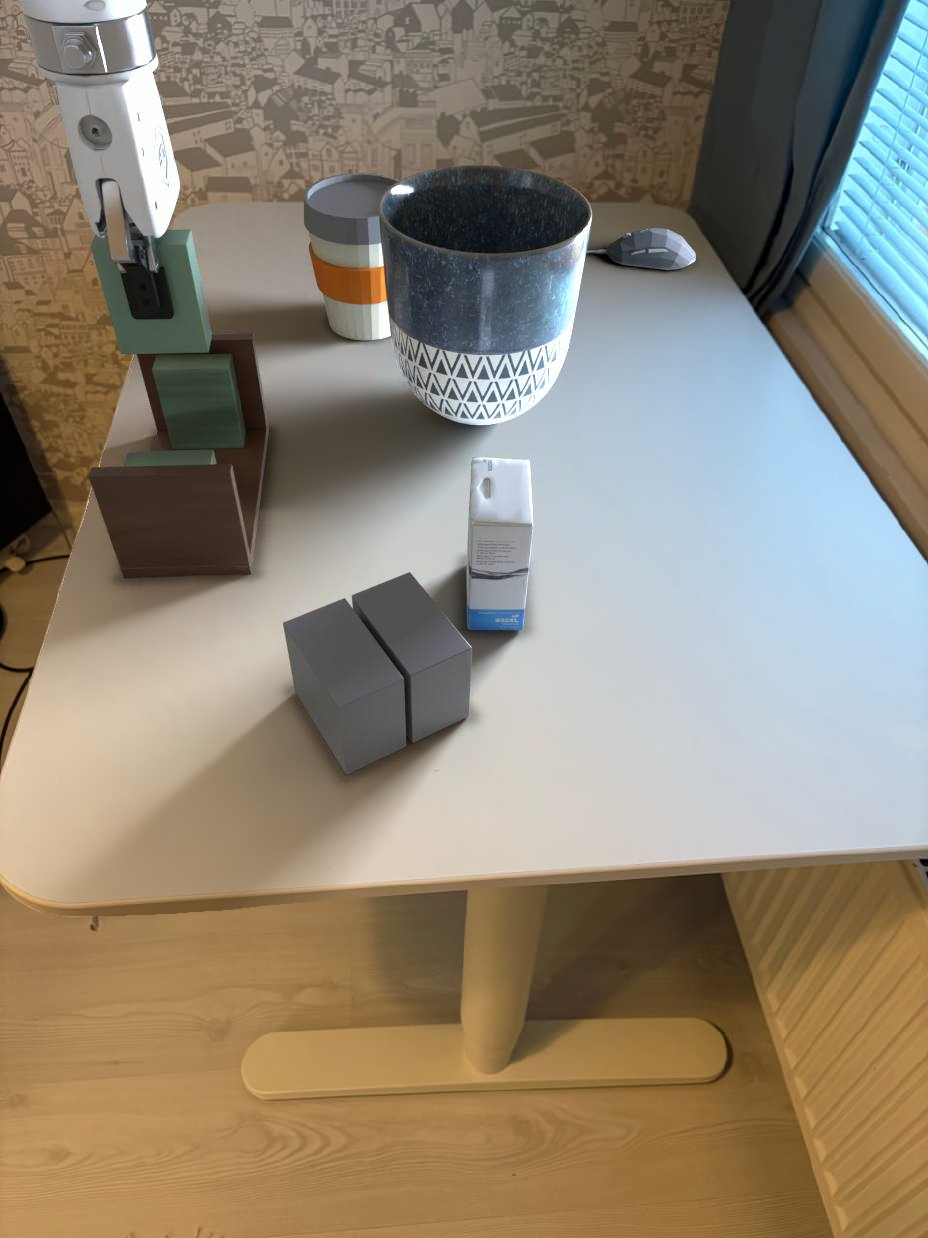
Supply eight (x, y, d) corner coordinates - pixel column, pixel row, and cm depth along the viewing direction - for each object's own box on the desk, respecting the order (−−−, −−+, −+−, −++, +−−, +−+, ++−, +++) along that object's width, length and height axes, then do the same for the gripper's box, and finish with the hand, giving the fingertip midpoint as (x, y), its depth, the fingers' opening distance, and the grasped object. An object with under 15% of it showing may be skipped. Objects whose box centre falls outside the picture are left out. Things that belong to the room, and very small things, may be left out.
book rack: (251, 574, 80) (230, 472, 72) (123, 578, 79) (87, 476, 71) (269, 431, 95) (253, 332, 86) (161, 433, 94) (135, 334, 86)
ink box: (524, 632, 76) (535, 525, 68) (465, 631, 76) (469, 524, 68) (520, 562, 82) (531, 456, 73) (466, 560, 82) (470, 454, 73)
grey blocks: (346, 775, 66) (338, 708, 60) (294, 691, 71) (282, 622, 65) (469, 716, 70) (472, 647, 64) (411, 641, 75) (409, 571, 69)
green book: (208, 352, 74) (186, 244, 68) (120, 354, 74) (89, 245, 67) (212, 336, 76) (191, 228, 69) (126, 337, 75) (97, 229, 69)
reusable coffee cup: (333, 357, 105) (322, 226, 94) (300, 306, 112) (286, 181, 101) (434, 336, 108) (434, 208, 97) (395, 288, 116) (391, 165, 105)
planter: (602, 429, 96) (635, 227, 81) (440, 482, 89) (441, 273, 74) (507, 343, 108) (520, 151, 92) (357, 384, 101) (343, 185, 85)
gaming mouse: (585, 242, 126) (589, 213, 123) (693, 252, 125) (699, 223, 122) (583, 263, 122) (586, 234, 119) (694, 273, 121) (701, 244, 118)
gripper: (130, 82, 54) (192, 361, 67) (171, 6, 65) (216, 258, 78) (-1, 82, 53) (87, 362, 67) (62, 6, 64) (127, 259, 77)
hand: (156, 304), depth 72 cm, fingers closed on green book, 2 cm apart
